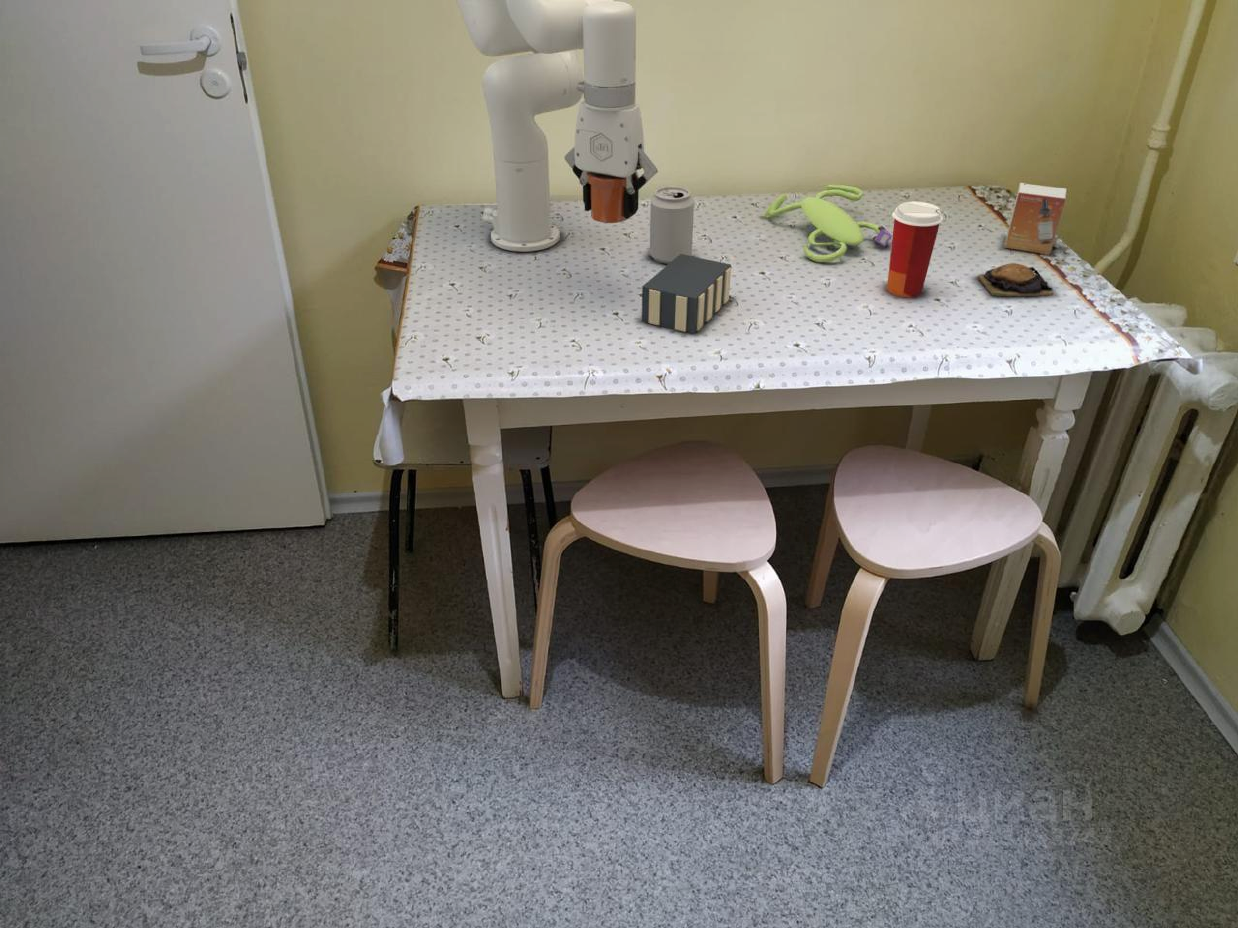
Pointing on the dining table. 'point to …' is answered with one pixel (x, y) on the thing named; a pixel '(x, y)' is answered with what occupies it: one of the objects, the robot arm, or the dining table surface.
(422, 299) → the dining table surface
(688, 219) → the can
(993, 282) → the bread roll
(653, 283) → the dark grey striped block
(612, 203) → the terracotta pot
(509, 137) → the robot arm
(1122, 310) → the dining table surface
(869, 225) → the figurine
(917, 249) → the paper cup
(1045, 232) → the small box
